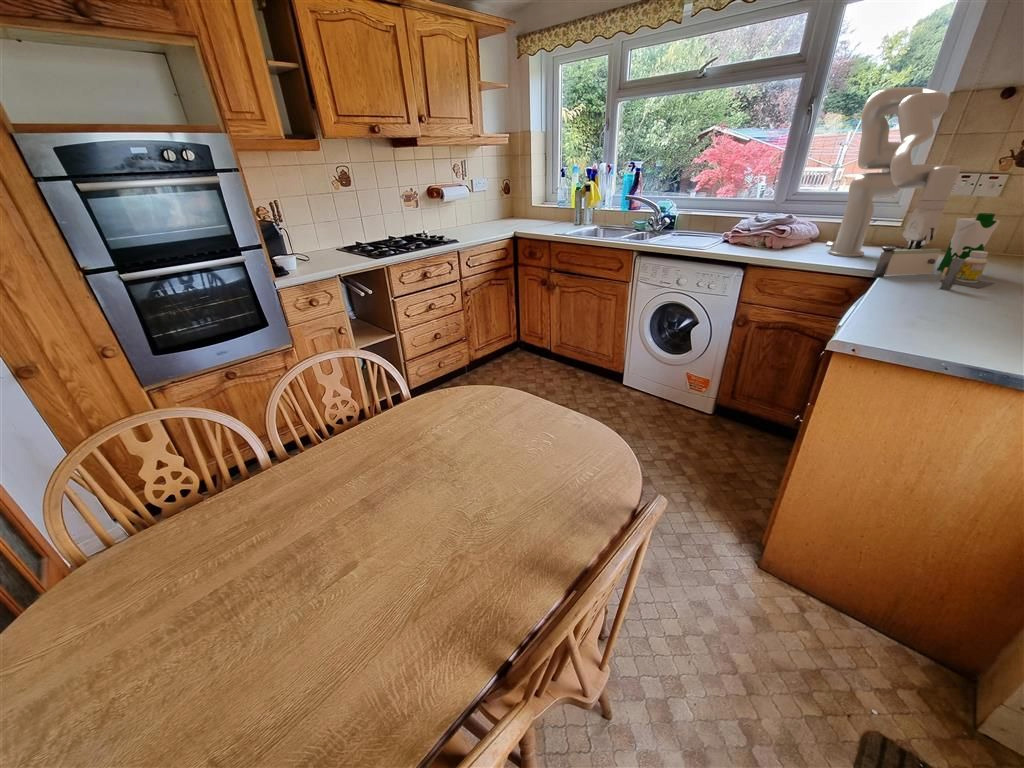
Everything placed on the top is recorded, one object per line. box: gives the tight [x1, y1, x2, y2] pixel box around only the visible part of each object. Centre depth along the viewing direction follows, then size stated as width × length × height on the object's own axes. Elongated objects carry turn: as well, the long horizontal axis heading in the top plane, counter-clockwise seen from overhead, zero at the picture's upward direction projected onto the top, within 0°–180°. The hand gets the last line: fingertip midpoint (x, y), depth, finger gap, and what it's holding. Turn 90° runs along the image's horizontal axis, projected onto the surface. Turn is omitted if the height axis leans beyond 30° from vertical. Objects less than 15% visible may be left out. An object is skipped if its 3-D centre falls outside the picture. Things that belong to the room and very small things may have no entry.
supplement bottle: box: [956, 250, 989, 283], centre depth 141 cm, size 5×5×10 cm
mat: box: [940, 277, 996, 289], centre depth 143 cm, size 10×10×1 cm
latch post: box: [939, 258, 964, 291], centre depth 136 cm, size 3×3×10 cm
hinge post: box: [873, 245, 897, 278], centre depth 152 cm, size 4×4×10 cm
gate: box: [884, 248, 943, 276], centre depth 151 cm, size 16×2×8 cm, turn 89°
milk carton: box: [936, 212, 1001, 273], centre depth 151 cm, size 9×9×20 cm
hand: (909, 259), depth 157 cm, fingers closed
